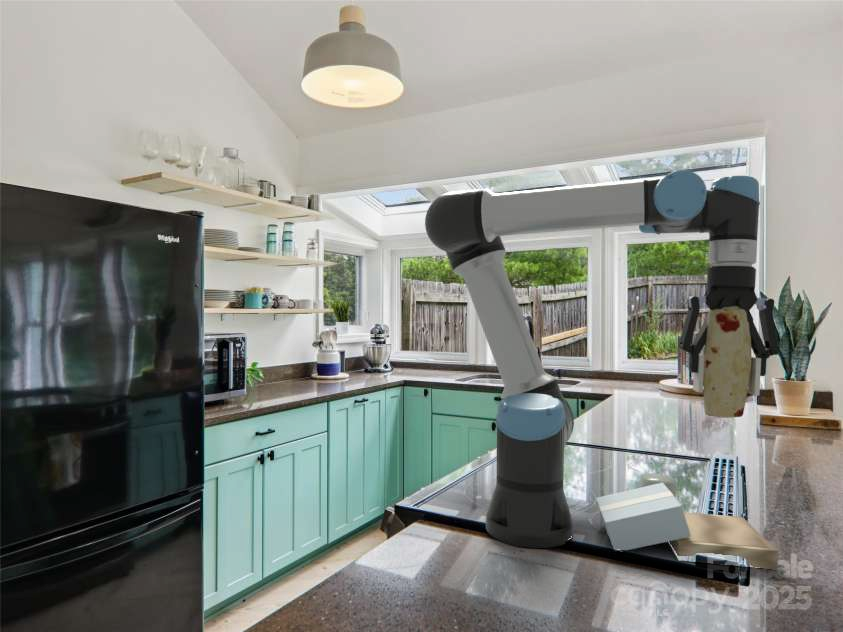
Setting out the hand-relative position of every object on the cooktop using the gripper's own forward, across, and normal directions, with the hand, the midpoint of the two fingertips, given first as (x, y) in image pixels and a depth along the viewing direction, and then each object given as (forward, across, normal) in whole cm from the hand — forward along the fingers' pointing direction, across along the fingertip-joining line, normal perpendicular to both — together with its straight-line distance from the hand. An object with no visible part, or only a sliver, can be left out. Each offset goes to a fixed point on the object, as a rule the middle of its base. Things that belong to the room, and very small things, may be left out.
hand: (725, 392), depth 99 cm
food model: (+5, 0, 0) cm, 5 cm away
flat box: (+23, -15, -7) cm, 28 cm away
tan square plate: (+25, -4, -8) cm, 26 cm away
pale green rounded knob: (+25, -9, +6) cm, 27 cm away
